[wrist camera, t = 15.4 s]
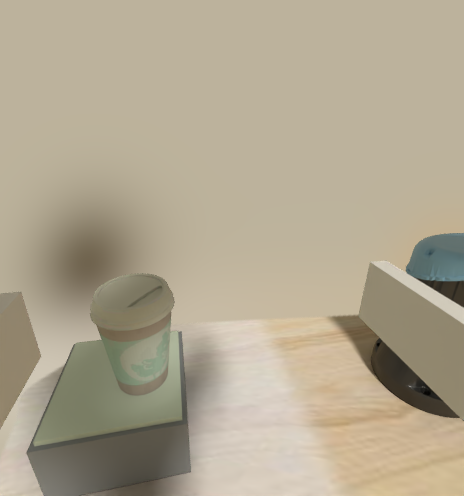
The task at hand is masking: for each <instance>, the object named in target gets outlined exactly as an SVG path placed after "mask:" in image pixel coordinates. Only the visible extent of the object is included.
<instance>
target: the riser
mask: <svg viewBox="0 0 464 496" xmlns="http://www.w3.org/2000/svg"><path fill="white" fill-rule="evenodd" d="M27 455H28V458H29V460H30V463H31V465H32V468H33V470H34V473H35V475H36V478H37V480H38V483H39V485H40V487H41V490H42V492H43V495H44V496H80V495H85V494H90V493H94V492H99V491H104V490H109V489H113V488H118V487H123V486H127V485H132V484H137V483H141V482H146V481H151V480H156V479H160V478H165V477H170V476H174V475H179V474H184V473H189V472H191V466H190V451H189V435H188V420H187V404H186V389H185V374H184V359H183V345H182V331H181V332H178V331H172V332H170V343H169V362H168V375H167V378H166V380H165V381H164V383H163V384H162V385H161V386H160V387H159V388H158V389H156V390H154V391H153V392H150V393H148V394H145V395H138V396H135V395H129V394H126V393H124V392H123V391H122V390H121V389H120V387H119V385H118V382H117V380H116V377H115V375H114V372H113V369H112V366H111V364H110V361H109V358H108V355H107V353H106V350H105V347H104V344H103V342H102V340H97V341H88V342H80V343H76V344H74V346H73V348H72V350H71V352H70V355H69V357H68V359H67V362H66V364H65V366H64V368H63V371H62V373H61V375H60V378H59V380H58V382H57V384H56V387H55V389H54V391H53V394H52V396H51V398H50V400H49V403H48V405H47V407H46V409H45V412H44V414H43V416H42V419H41V421H40V423H39V425H38V428H37V430H36V432H35V435H34V437H33V439H32V441H31V444H30V446H29V448H28V451H27Z"/></svg>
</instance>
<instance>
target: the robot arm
mask: <svg viewBox="0 0 464 496" xmlns="http://www.w3.org/2000/svg"><path fill="white" fill-rule="evenodd" d="M406 272H407V273H405V272H404V271H402V270H400V269H399V268H397V267H396V266H394V265H393V264H391V263H389V262H388V261H376V262H370V265H369V269H368V274H367V279H366V283H365V288H364V293H363V298H362V302H361V307H360V312H359V316H358V317H359V318H360V319H361V320H362V321H363V322H364V323H365V324H366V325H367V326H368V327H369V328H370V329H371V330H372V331H373V332H374V333H375V334H376V335H377V336H378V337H379V339H378V340H377V342H376V343H375V345H374V349H373V352H372V357H371V363H372V367H373V370H374V372H375V374H376V375H377V377H378V378H379V379H380V381H381V382H382V383H383V384H384V385H385V386H386V387H387V388H388V389H389V390H390V391H391V392H392V393H394V394H395V395H396V396H398V397H399V398H401V399H402V400H404V401H405V402H407V403H409V404H410V405H412V406H414V407H416V408H419V409H421V410H423V411H426V412H429V413H432V414H435V415H439V416H443V417H450V418H461V419H462V420H463V421H464V233H452V234H440V235H435V236H430V237H427V238H425V239H423V240H421V241H420V242H419V243H418V244H417V245H416V246H415V248H414V250H413V253H412V256H411V259H410V262H409V264H408V265H407V267H406ZM40 357H41V354H40V351H39V348H38V344H37V341H36V338H35V335H34V332H33V329H32V325H31V322H30V319H29V316H28V313H27V309H26V306H25V303H24V300H23V297H22V293H21V292H14V293H3V294H0V428H1V427H2V425H3V423H4V421H5V420H6V418H7V416H8V414H9V412H10V411H11V409H12V407H13V405H14V404H15V402H16V400H17V398H18V396H19V395H20V393H21V391H22V389H23V388H24V386H25V384H26V382H27V380H28V379H29V377H30V375H31V373H32V371H33V370H34V368H35V366H36V364H37V363H38V361H39V359H40Z"/></svg>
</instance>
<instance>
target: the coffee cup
mask: <svg viewBox="0 0 464 496" xmlns="http://www.w3.org/2000/svg"><path fill="white" fill-rule="evenodd" d="M173 306H174V297H173V294H172V292H171V290H170V289H169V287H168V284H167V282H166V281H165V280H164V279H162V278H161V277H158V276H156V275H151V274H130V275H125V276H120V277H117V278H115V279H112V280H110V281H107V282H106V283H104V284H103V285H101V286H100V287H99V288H98V289H97V290H96V291H95V293H94V296H93V302H92V304H91V309H90V310H91V313H90V316H91V319H92V321H93V322H94V323H95V324H96V325H97V327H98V331H99V333H100V336H101V339H102V342H103V344H104V347H105V350H106V353H107V355H108V358H109V361H110V364H111V366H112V369H113V372H114V375H115V377H116V380H117V382H118V385H119V387H120V389H121V390H122V391H123V392H124V393H126V394H129V395H135V396H138V395H145V394H148V393H150V392H153V391H154V390H156V389H158V388H159V387H160V386H161V385H162V384H163V383H164V381H165V380H166V378H167V375H168V362H169V343H170V324H171V310H172V308H173Z"/></svg>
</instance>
